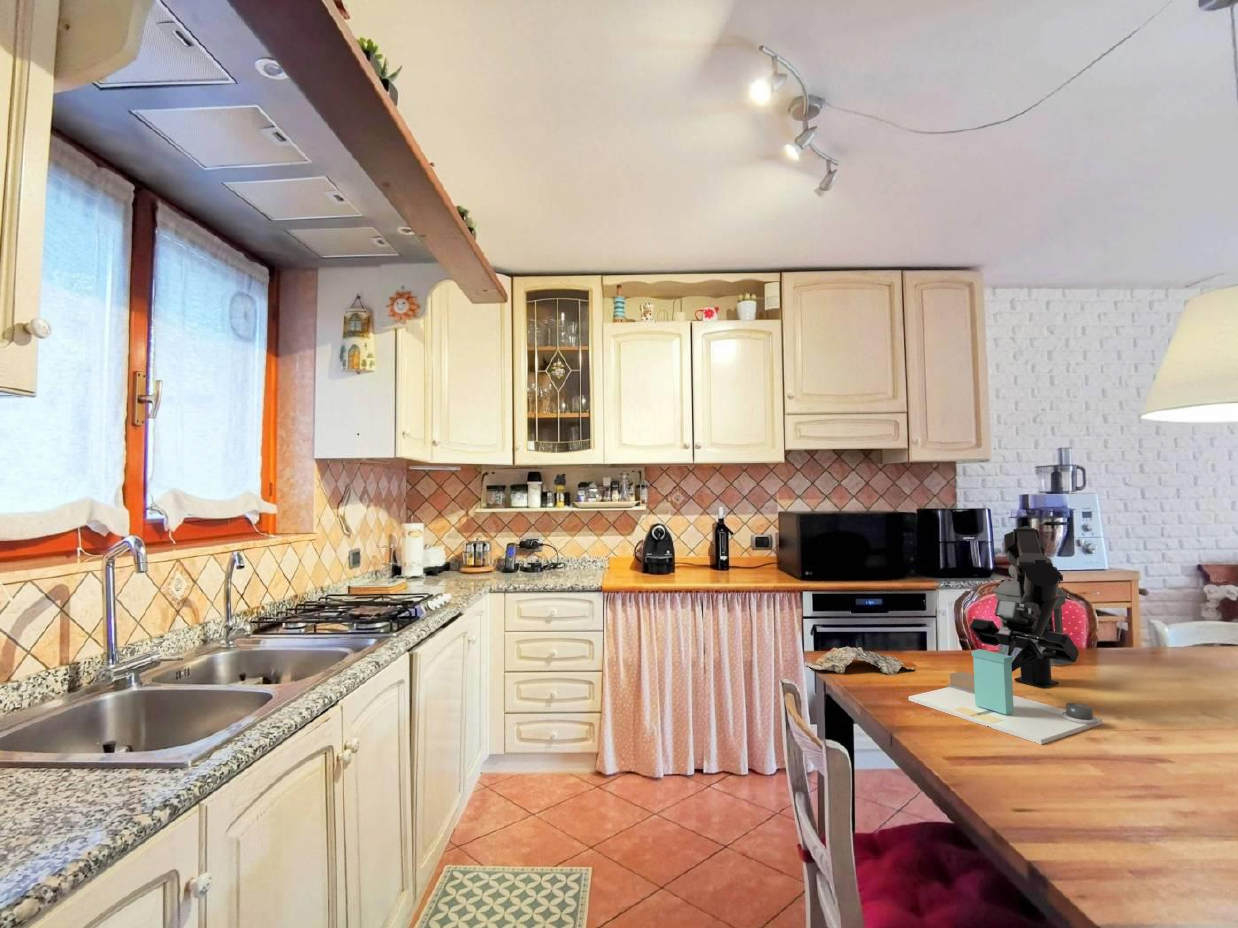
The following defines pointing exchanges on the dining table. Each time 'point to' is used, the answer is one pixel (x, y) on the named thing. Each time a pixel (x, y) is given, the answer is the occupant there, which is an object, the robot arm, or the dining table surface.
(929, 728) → the dining table surface
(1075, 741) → the dining table surface
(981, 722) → the console
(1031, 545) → the robot arm
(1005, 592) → the lantern
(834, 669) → the rock
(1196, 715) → the dining table surface
